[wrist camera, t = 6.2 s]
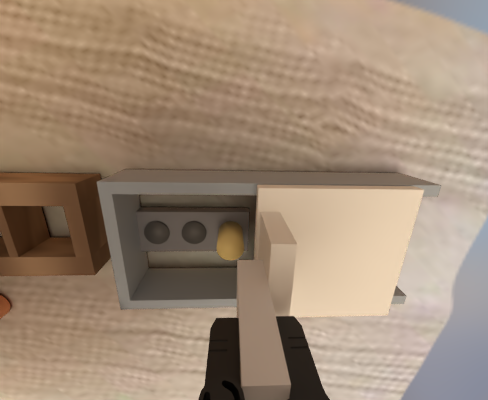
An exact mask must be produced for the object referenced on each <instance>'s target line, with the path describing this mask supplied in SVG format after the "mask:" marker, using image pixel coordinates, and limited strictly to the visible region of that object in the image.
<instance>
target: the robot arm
mask: <svg viewBox="0 0 488 400" xmlns="http://www.w3.org/2000/svg"><path fill="white" fill-rule="evenodd" d="M236 299H237V318H216V320H215V322H214V323H213V325H212V327H211V331H210V341H209V350H208V359H207V369H206V378H205V386H204V388H203V389H202V391H201V393H200V396H199V400H330V399H329V398H328V396H327V395H326V393H325V391H324V389H323V387H322V384H321V381H320V378H319V375H318V372H317V370H316V367H315V364H314V361H313V358H312V355H311V352H310V349H309V346H308V343H307V340H306V339H305V334H304V332H303V329H302V326H301V324H300V323H299V322H298V321H297V319H296V318H295V317H294V316H275V311H274V307H273V302H272V298H271V293H270V289H269V285H268V280H267V276H266V271H265V267H264V263H263V260H237V298H236Z"/></svg>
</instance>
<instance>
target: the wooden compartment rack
mask: <svg viewBox="0 0 488 400" xmlns="http://www.w3.org/2000/svg"><path fill="white" fill-rule="evenodd" d="M99 180H101V177H100V174H71V173H0V231H1V234H2V237H3V238H0V276H47V275H96V274H97V272H98V271H99V270H100V269H101V268H102V267H103V266H104V265H105V263H106V262H107V261H108V260H109V259H110V258H111V255H110V250H109V245H108V240H107V234H106V229H105V224H104V219H103V213H102V208H101V203H100V198H99V192H98V187H97V181H99ZM41 206H63V208H64V212H65V216H66V220H67V224H68V228H69V232H70V236H71V238H50V236H49V233H48V229H47V225H46V222H45V218H44V215H43V211H42V208H41Z"/></svg>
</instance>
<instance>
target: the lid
mask: <svg viewBox="0 0 488 400" xmlns="http://www.w3.org/2000/svg"><path fill="white" fill-rule="evenodd" d="M423 193H424V189H421V188H418V187H415V186H333V185H257V198H256V220H255V243H254V260H263V263H264V267H265V271H266V276H267V280H268V285H269V289H270V293H271V298H272V302H273V307H274V311H275V316H294V317H329V316H372V315H388V312H389V309H390V305H391V302H392V298H393V295H394V291H395V288H396V285H397V281H398V278H399V274H400V271H401V268H402V264H403V261H404V257H405V254H406V251H407V247H408V244H409V240H410V237H411V233H412V230H413V227H414V223H415V220H416V216H417V213H418V210H419V206H420V203H421V199H422V196H423Z"/></svg>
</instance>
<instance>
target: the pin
mask: <svg viewBox="0 0 488 400" xmlns="http://www.w3.org/2000/svg"><path fill="white" fill-rule="evenodd" d="M9 311H10V303H9V302H8V300H7V299H6V298H4V297H3V296H1V295H0V319H1V318H2V317H3V316H4V315H5V314H7V313H8V312H9Z"/></svg>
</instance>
